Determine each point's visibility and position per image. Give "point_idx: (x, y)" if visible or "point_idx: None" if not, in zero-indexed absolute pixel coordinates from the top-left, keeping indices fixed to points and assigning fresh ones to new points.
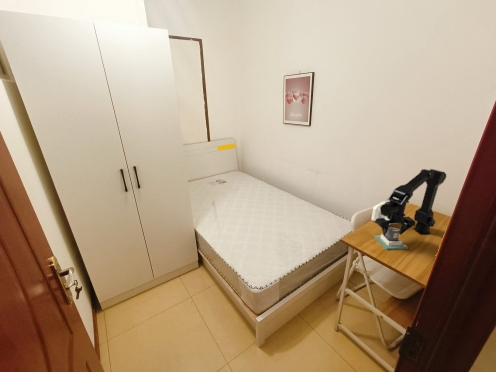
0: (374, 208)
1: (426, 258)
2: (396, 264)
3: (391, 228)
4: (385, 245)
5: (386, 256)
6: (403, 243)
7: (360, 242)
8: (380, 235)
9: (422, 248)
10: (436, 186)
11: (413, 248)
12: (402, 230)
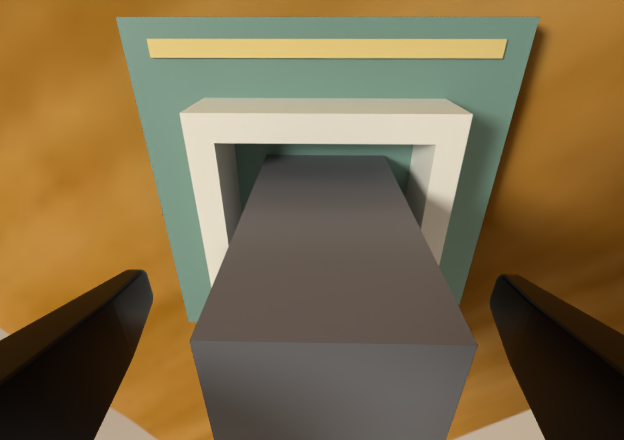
0: None
1: (485, 413)
2: (197, 435)
3: (292, 385)
4: (199, 277)
5: (156, 372)
6: (460, 265)
7: None
8: (238, 22)
9: (607, 318)
10: None
11: None
12: (566, 436)
